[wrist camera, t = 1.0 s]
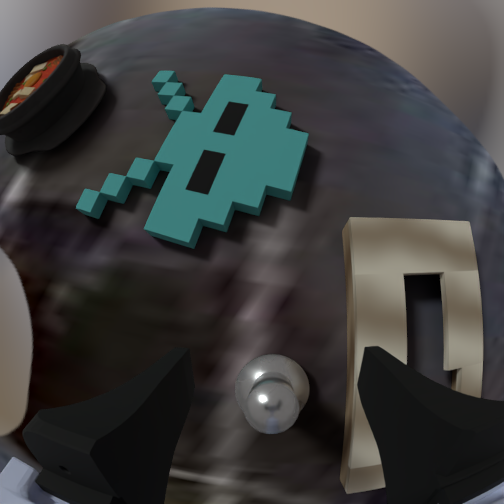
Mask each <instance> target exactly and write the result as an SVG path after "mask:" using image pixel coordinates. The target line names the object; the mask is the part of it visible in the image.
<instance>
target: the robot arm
mask: <svg viewBox="0 0 504 504" xmlns="http://www.w3.org/2000/svg"><path fill="white" fill-rule="evenodd" d="M357 387H358V392H359V396H360V401H361V404H362V407H363V410H364V412H365V415H366V418H367V420H368V423H369V425H370V428H371V430H372V433H373V436H374V438H375V441H376V444H377V447H378V450H379V455H380V459H381V464H382V469H383V474H384V480H385V487H386V495H387V504H504V401H495V400H488V399H483V398H478V397H474V396H470V395H467V394H464V393H461V392H458V391H455V390H452V389H450V388H447V387H445V386H443V385H441V384H438V383H436V382H434V381H432V380H430V379H429V378H427V377H425V376H423V375H422V374H420V373H418V372H417V371H415V370H413V369H412V368H410V367H409V366H407V365H406V364H404V363H403V362H401V361H400V360H399V359H397V358H396V357H394V356H393V355H391V354H390V353H389V352H387V351H386V350H384V349H383V348H381V347H379V346H370V347H365V348H364V353H363V358H362V363H361V368H360V373H359V378H358V382H357ZM194 388H195V384H194V377H193V371H192V364H191V357H190V350H189V348H174V349H172V350H171V351H170V352H169V353H167V354H166V355H165V356H163V357H162V358H161V359H160V360H158V361H157V362H156V363H154V364H153V365H152V366H150V367H149V368H148V369H146V370H145V371H143V372H142V373H140V374H139V375H137V376H136V377H134V378H133V379H131V380H130V381H128V382H127V383H125V384H123V385H121V386H119V387H117V388H116V389H114V390H112V391H109V392H107V393H105V394H102V395H100V396H97V397H95V398H92V399H90V400H87V401H83V402H80V403H77V404H73V405H69V406H64V407H58V408H52V409H45V410H40V411H39V412H38V413H37V414H36V415H35V417H34V418H33V419H32V420H31V421H30V423H29V424H28V425H27V426H26V427H25V429H24V430H23V437H24V440H25V442H26V444H27V446H28V448H29V449H30V450H31V452H32V453H33V455H34V456H35V457H36V459H37V460H38V461H39V463H40V464H41V465H42V467H43V470H42V471H41V473H39V472H38V471H37V470H36V469H34V468H33V467H31V466H29V465H27V464H26V463H24V462H22V461H20V460H19V459H17V458H15V457H13V458H12V459H11V460H10V462H9V463H8V464H7V466H6V467H5V468H4V470H3V471H2V472H1V474H0V504H164V500H165V494H166V488H167V482H168V477H169V472H170V468H171V463H172V459H173V454H174V451H175V448H176V444H177V442H178V439H179V436H180V434H181V431H182V428H183V426H184V423H185V420H186V418H187V415H188V412H189V409H190V407H191V403H192V398H193V393H194Z"/></svg>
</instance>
